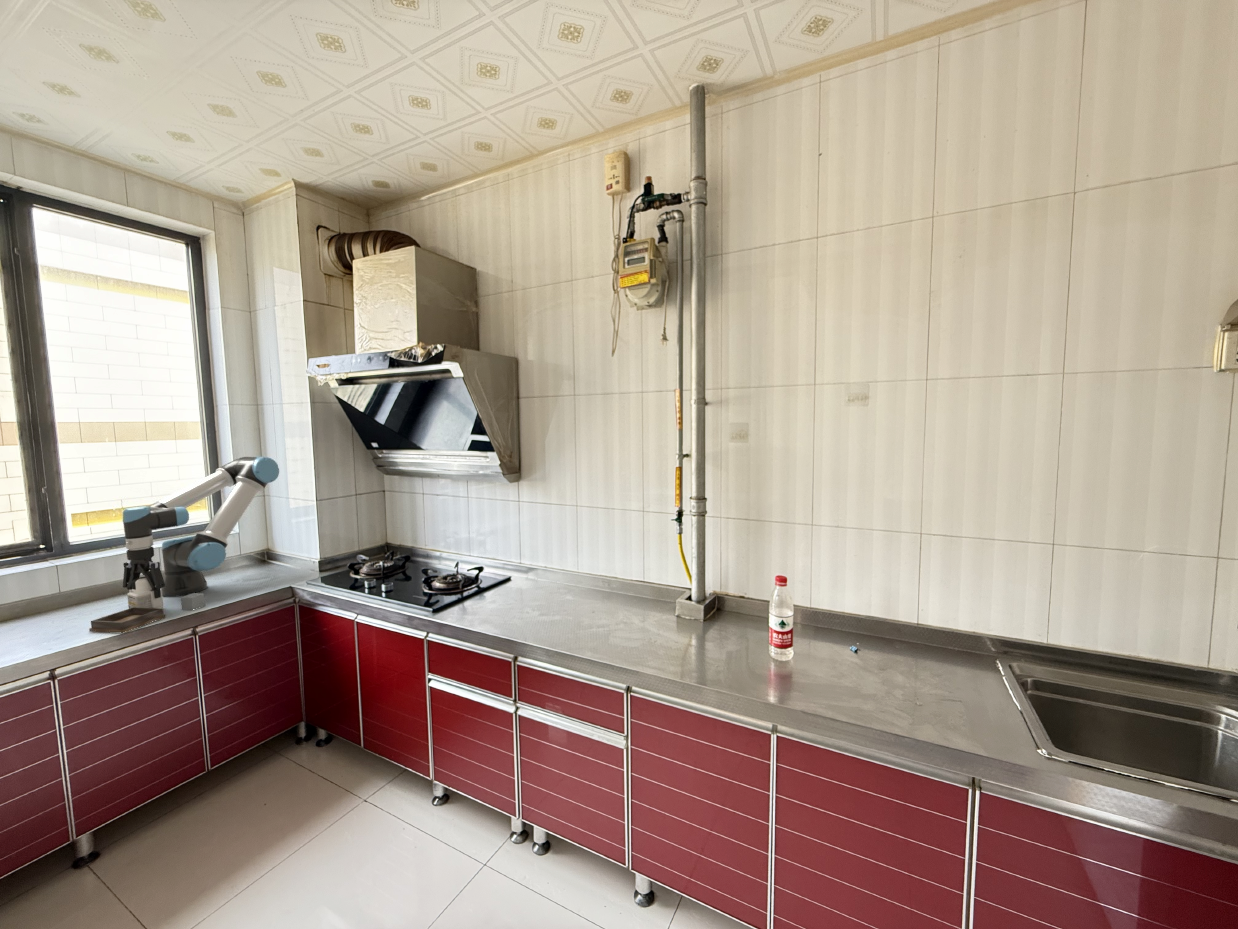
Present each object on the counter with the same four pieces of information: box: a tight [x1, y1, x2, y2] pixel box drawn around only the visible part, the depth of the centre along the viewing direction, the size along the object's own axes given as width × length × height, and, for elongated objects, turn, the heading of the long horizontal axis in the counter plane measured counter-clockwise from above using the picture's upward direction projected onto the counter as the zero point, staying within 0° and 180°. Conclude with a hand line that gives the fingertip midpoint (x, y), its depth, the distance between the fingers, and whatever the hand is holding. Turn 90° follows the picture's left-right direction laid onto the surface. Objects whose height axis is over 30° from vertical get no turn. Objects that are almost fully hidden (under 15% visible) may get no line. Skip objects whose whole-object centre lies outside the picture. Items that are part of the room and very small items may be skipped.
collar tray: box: [89, 607, 166, 634], centre depth 182 cm, size 14×14×4 cm
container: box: [126, 576, 164, 610], centre depth 194 cm, size 8×8×13 cm
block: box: [179, 592, 206, 611], centre depth 197 cm, size 5×5×5 cm
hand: (146, 605), depth 195 cm, fingers closed on container, 9 cm apart
